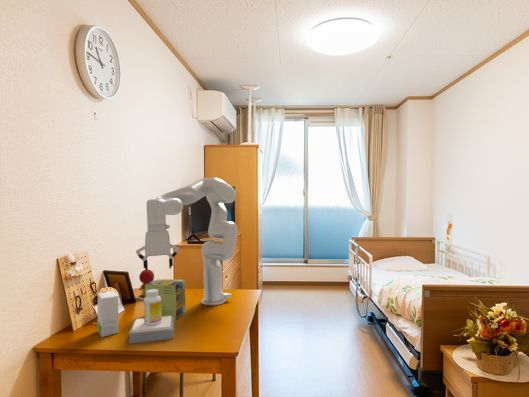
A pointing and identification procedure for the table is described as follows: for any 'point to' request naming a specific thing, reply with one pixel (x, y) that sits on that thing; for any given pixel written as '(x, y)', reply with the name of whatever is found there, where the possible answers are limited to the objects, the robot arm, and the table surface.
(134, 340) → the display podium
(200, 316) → the table surface
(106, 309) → the skincare box
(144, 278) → the figurine
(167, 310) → the protein box
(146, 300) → the supplement bottle
